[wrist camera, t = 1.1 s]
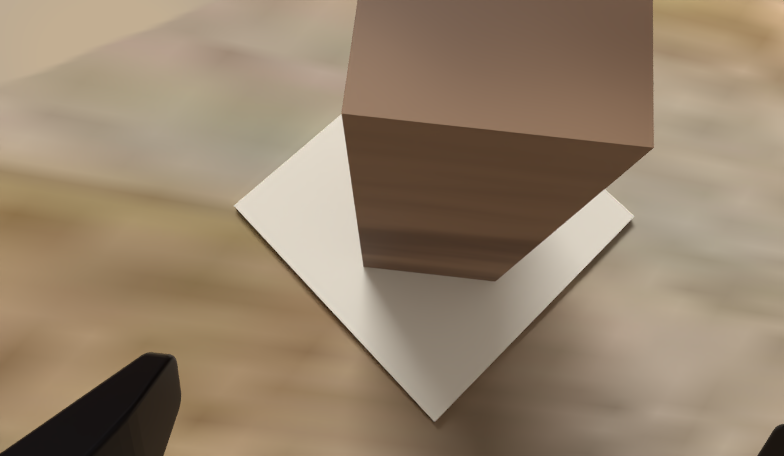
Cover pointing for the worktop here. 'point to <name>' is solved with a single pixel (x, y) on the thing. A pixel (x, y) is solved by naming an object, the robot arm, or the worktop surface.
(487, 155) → the walnut block
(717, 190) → the worktop surface
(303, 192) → the tile
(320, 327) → the worktop surface
